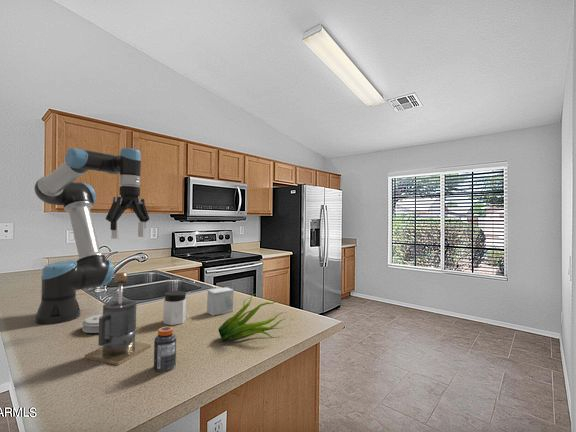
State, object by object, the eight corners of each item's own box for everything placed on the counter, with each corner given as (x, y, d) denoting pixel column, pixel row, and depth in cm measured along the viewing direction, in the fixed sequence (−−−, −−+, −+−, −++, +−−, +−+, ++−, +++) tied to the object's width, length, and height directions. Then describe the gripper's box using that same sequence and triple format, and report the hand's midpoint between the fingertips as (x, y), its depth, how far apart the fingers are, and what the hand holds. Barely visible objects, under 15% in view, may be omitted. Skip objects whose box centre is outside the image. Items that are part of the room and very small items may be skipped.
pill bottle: (157, 362, 91) (158, 324, 91) (178, 362, 91) (179, 324, 91) (150, 372, 85) (151, 332, 85) (172, 372, 85) (173, 332, 85)
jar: (165, 326, 120) (166, 296, 120) (161, 320, 127) (162, 292, 127) (188, 322, 125) (189, 293, 125) (183, 317, 132) (183, 289, 132)
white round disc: (115, 321, 126) (115, 309, 126) (124, 329, 117) (125, 316, 117) (78, 328, 117) (79, 315, 117) (86, 338, 108) (86, 324, 108)
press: (83, 359, 92) (84, 307, 92) (119, 341, 105) (120, 296, 105) (116, 366, 88) (118, 312, 88) (150, 347, 101) (151, 300, 101)
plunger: (110, 331, 96) (111, 274, 96) (119, 327, 99) (121, 272, 99) (119, 332, 95) (120, 274, 95) (128, 328, 98) (129, 273, 98)
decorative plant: (301, 341, 109) (302, 300, 109) (216, 344, 104) (218, 302, 105) (293, 324, 127) (293, 289, 127) (220, 326, 122) (221, 289, 122)
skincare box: (213, 316, 134) (213, 292, 134) (206, 312, 139) (206, 289, 139) (233, 311, 141) (234, 289, 141) (226, 308, 146) (227, 286, 146)
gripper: (111, 182, 112) (110, 239, 112) (158, 189, 136) (157, 236, 136) (95, 182, 114) (94, 239, 114) (145, 189, 138) (143, 235, 138)
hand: (128, 237), depth 125 cm, fingers open, 13 cm apart
